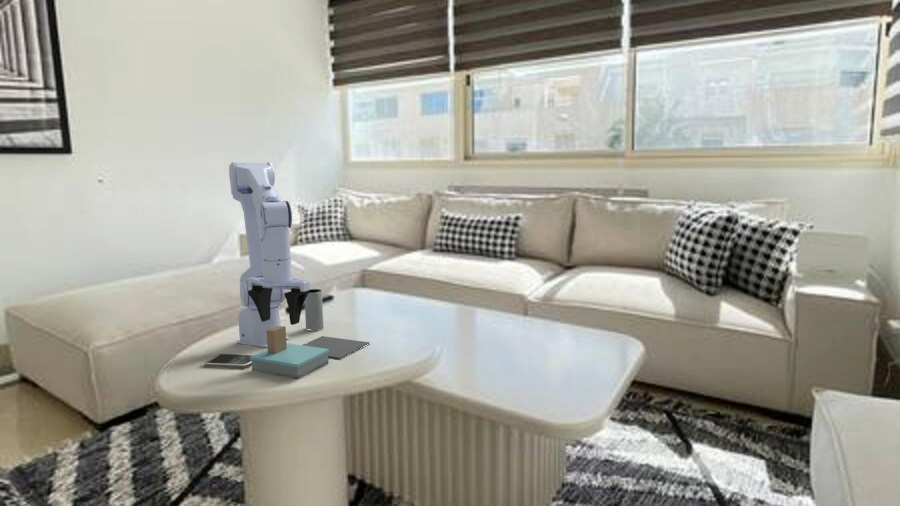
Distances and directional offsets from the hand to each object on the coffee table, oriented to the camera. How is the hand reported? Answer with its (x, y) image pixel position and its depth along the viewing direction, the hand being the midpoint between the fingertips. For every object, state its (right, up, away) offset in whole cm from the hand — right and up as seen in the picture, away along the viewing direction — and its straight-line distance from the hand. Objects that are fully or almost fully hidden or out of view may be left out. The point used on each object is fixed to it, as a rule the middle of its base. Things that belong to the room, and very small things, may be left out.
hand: (280, 321), depth 117 cm
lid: (+2, -7, -1) cm, 7 cm away
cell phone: (-12, -10, +3) cm, 15 cm away
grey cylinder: (0, -6, +29) cm, 29 cm away
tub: (+2, -10, 0) cm, 10 cm away
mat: (+8, -8, +12) cm, 17 cm away
